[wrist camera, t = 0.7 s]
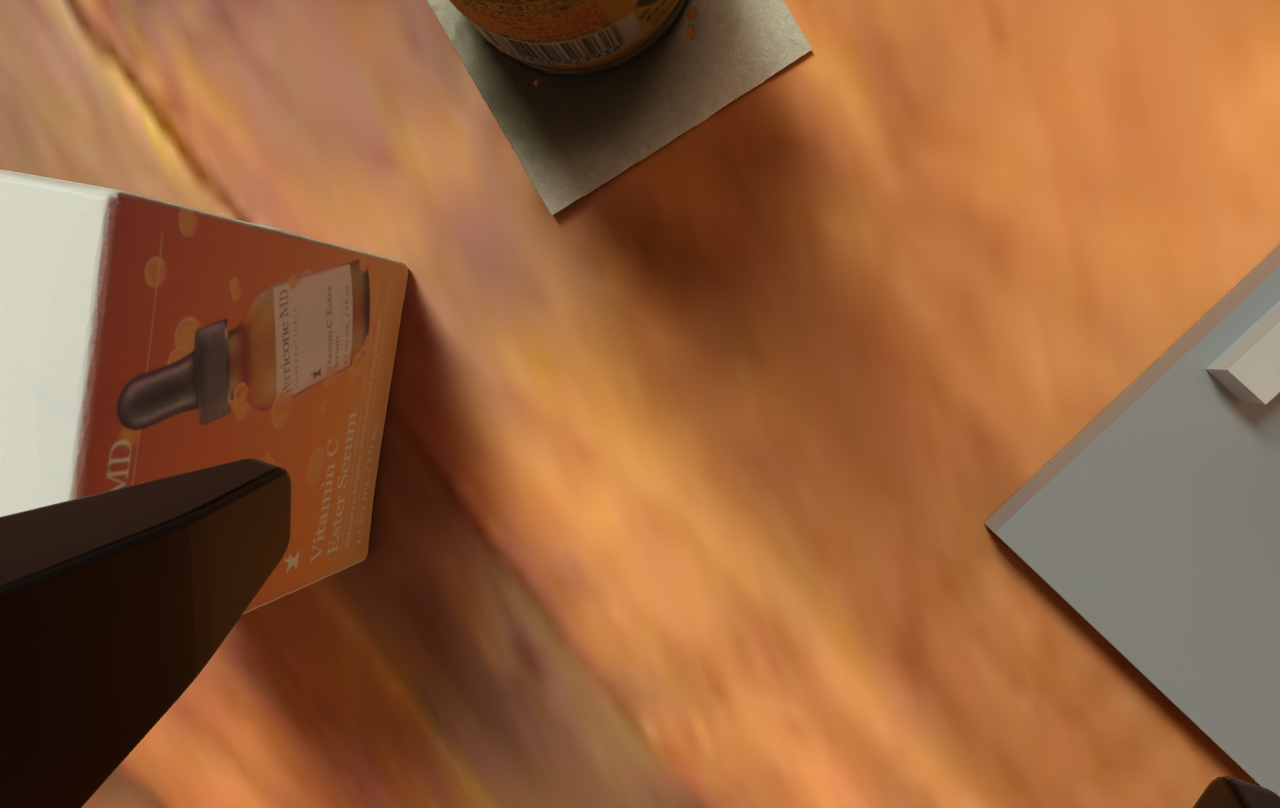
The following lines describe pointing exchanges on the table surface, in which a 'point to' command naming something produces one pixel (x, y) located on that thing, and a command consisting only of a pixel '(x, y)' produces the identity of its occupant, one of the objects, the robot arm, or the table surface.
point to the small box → (191, 359)
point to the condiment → (611, 75)
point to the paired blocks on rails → (1181, 523)
